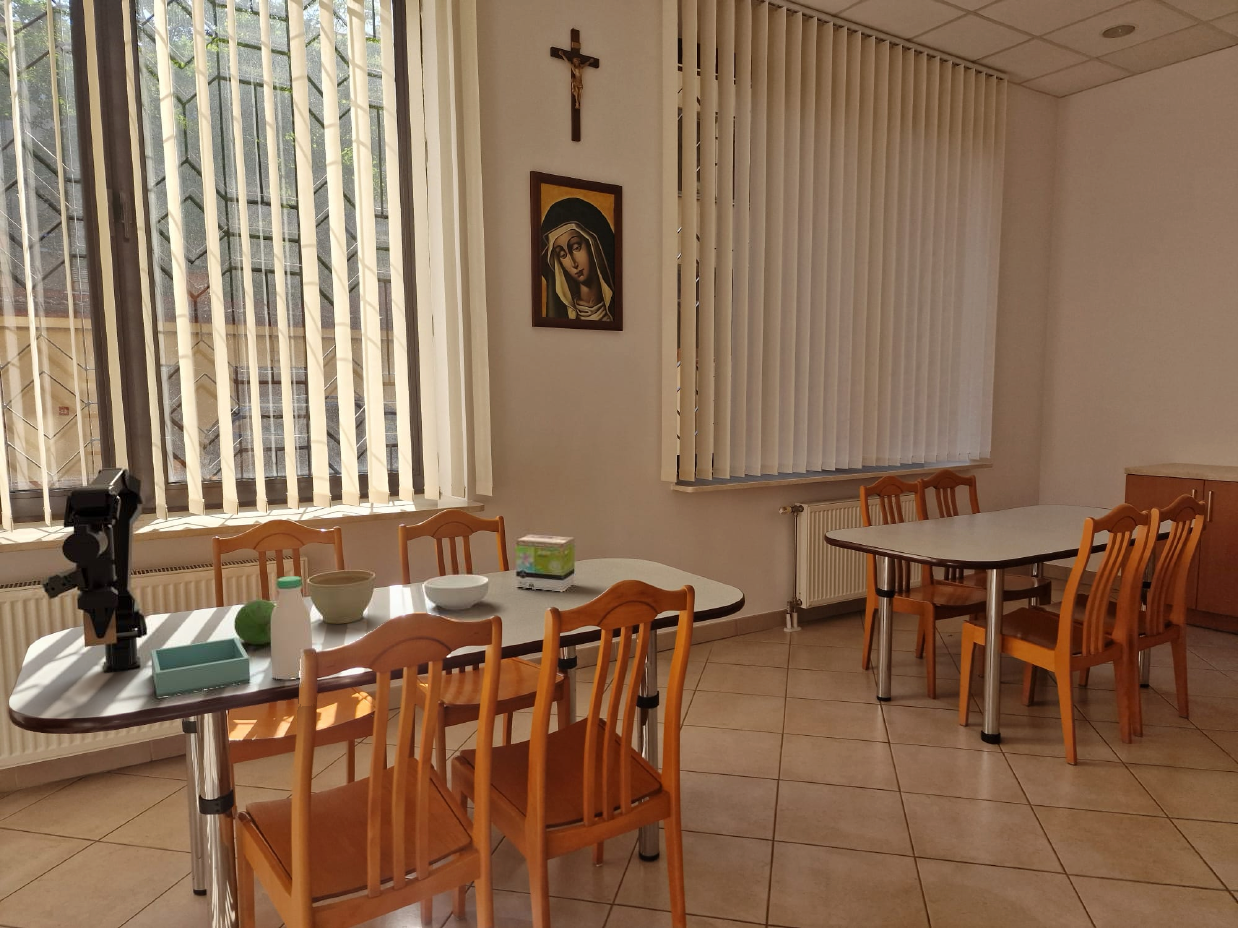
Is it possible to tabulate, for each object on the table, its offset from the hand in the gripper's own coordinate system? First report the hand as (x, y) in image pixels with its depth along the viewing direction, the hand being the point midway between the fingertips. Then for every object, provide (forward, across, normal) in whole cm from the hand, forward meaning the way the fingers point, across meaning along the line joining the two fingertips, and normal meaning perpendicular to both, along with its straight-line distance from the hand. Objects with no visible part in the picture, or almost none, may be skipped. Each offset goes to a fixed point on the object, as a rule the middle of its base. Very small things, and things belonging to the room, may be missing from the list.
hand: (100, 634), depth 153 cm
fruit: (+12, -16, +30) cm, 36 cm away
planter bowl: (+12, -28, +51) cm, 59 cm away
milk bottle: (+12, +9, +32) cm, 36 cm away
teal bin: (+12, +1, +16) cm, 20 cm away
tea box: (+12, -30, +110) cm, 115 cm away
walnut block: (+1, 0, 0) cm, 1 cm away
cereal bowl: (+12, -24, +80) cm, 84 cm away
